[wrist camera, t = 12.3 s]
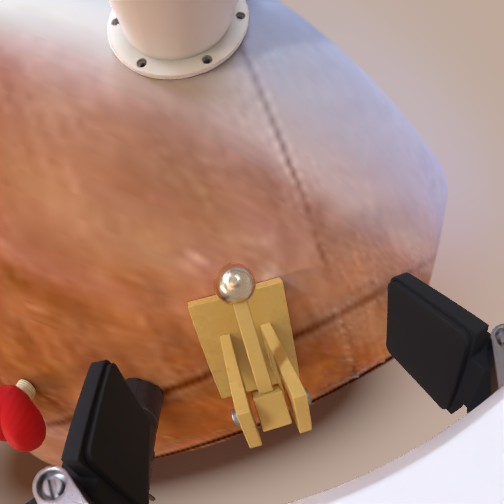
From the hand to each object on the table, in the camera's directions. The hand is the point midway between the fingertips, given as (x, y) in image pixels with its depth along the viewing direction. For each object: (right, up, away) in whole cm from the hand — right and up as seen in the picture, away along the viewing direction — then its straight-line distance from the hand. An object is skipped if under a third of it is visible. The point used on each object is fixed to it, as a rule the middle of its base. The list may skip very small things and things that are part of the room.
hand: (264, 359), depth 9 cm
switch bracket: (-1, -6, +21) cm, 22 cm away
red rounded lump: (-28, -13, +18) cm, 36 cm away
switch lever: (0, -4, +14) cm, 15 cm away
